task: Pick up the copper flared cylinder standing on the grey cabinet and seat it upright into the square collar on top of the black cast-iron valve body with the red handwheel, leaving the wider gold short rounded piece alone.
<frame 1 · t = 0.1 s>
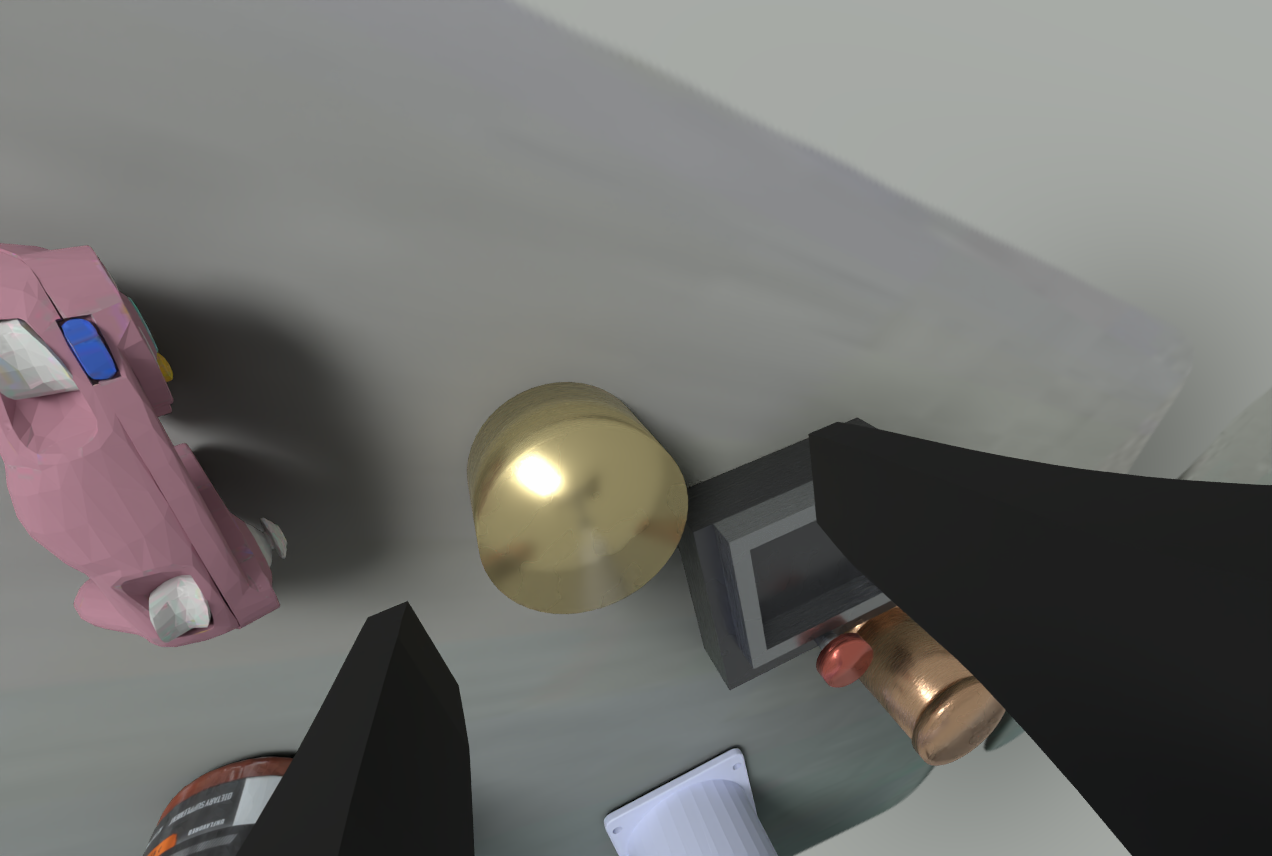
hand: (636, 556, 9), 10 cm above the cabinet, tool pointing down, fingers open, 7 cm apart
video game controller: (147, 418, 15), on the cabinet
copper flared cylinder: (873, 633, 31), on the cabinet
supplement bottle: (259, 798, 21), on the cabinet
gold short rounded piece: (559, 466, 20), on the cabinet
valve: (777, 538, 25), on the cabinet
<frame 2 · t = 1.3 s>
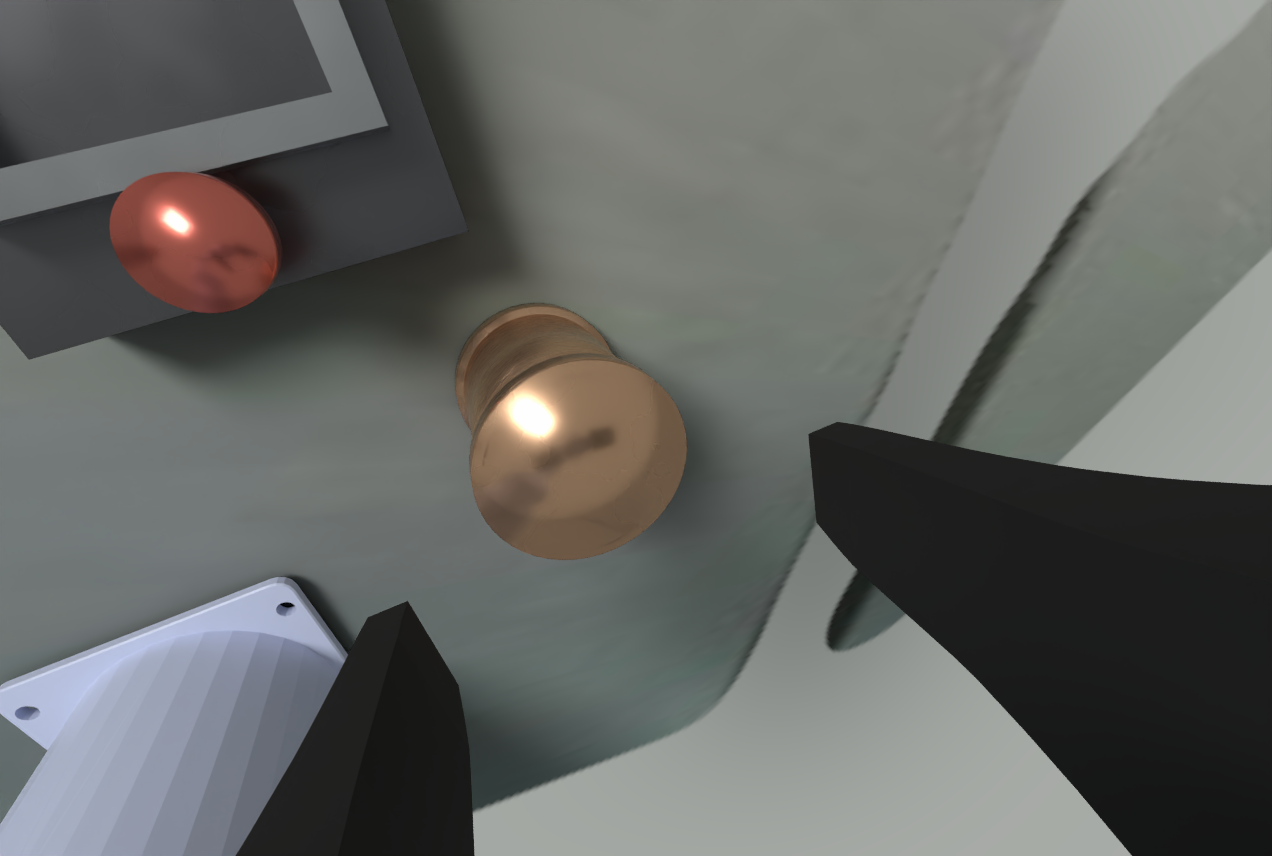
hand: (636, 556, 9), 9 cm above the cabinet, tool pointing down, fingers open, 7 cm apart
copper flared cylinder: (536, 381, 18), on the cabinet
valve: (178, 67, 12), on the cabinet
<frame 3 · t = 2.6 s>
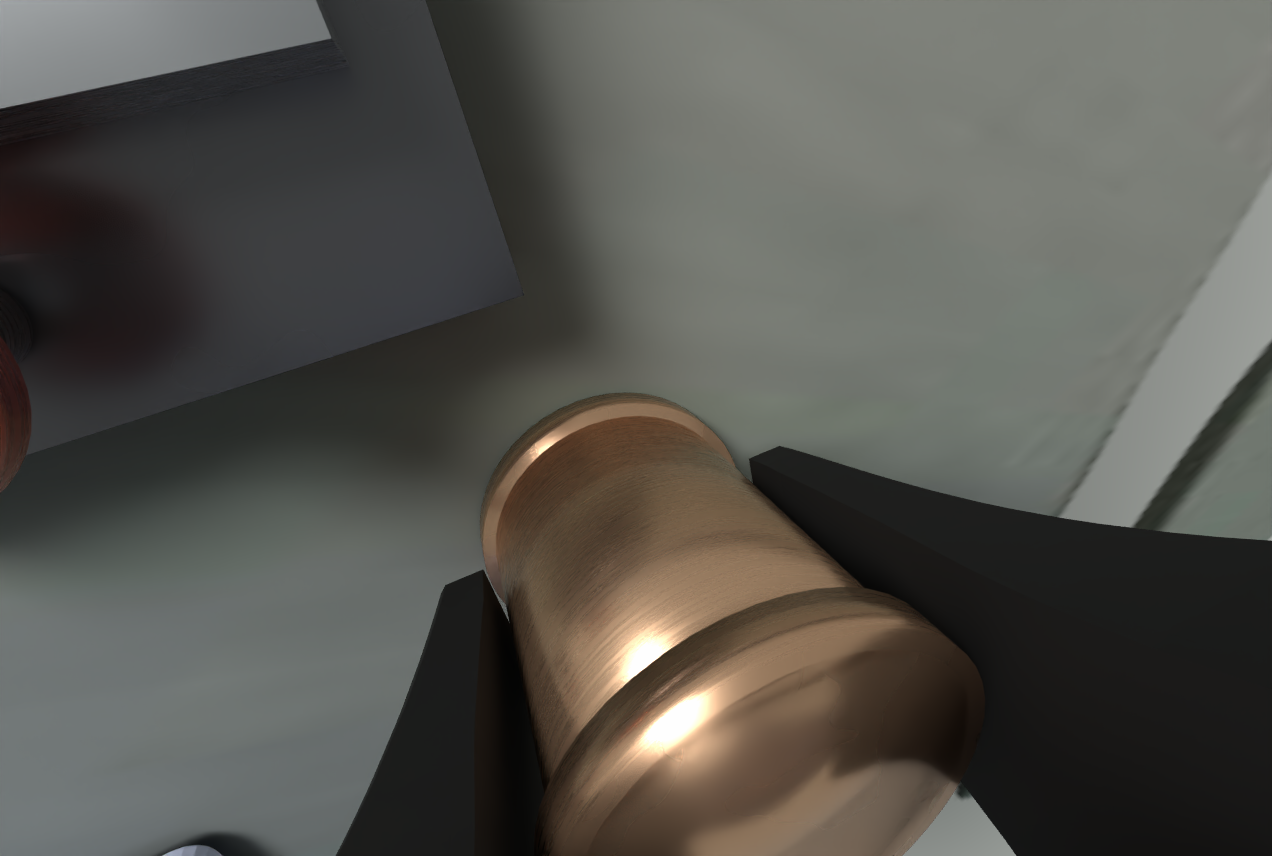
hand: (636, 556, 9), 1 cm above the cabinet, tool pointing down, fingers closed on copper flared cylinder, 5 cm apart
copper flared cylinder: (611, 512, 11), on the cabinet, touching gripper
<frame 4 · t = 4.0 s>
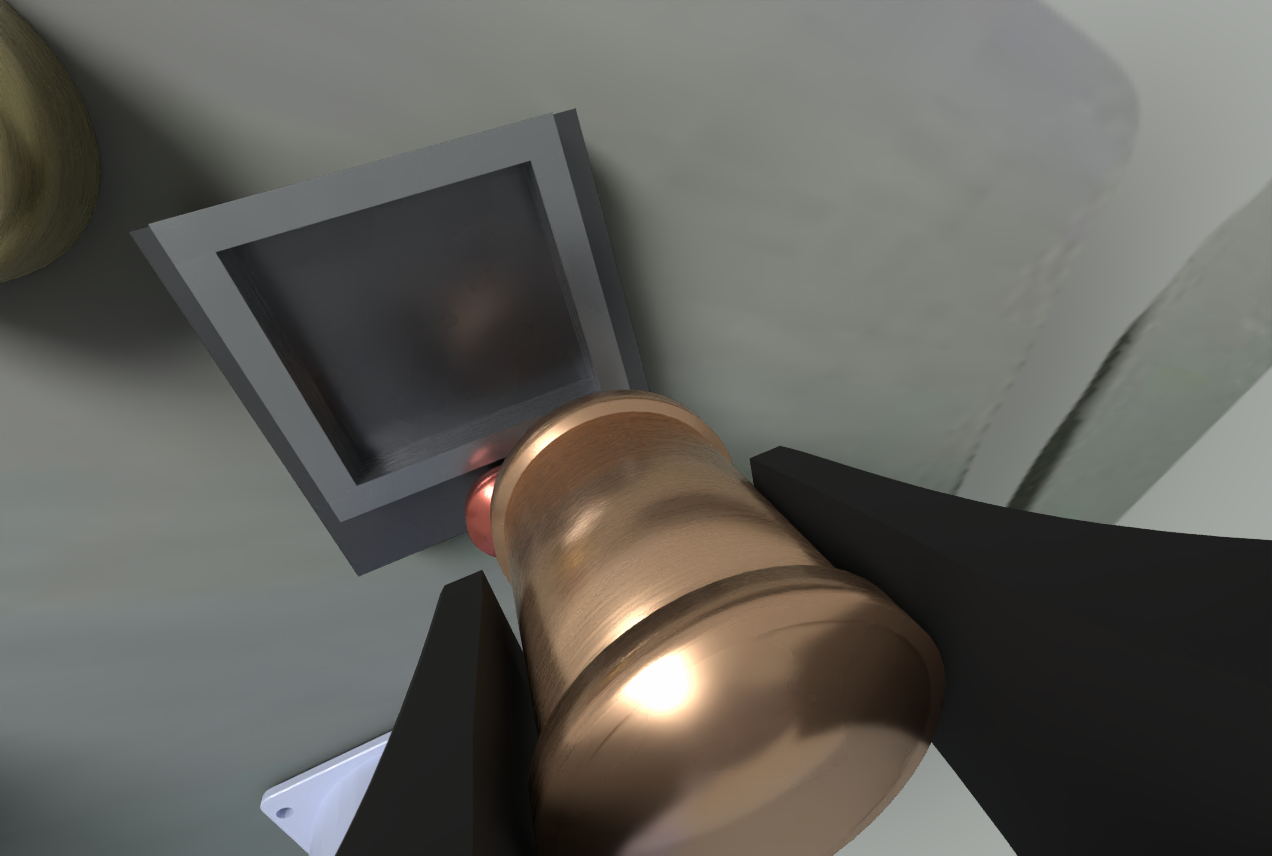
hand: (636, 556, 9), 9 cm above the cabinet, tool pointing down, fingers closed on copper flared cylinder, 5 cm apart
copper flared cylinder: (613, 503, 11), point 7 cm above the cabinet, touching gripper
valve: (451, 338, 16), on the cabinet
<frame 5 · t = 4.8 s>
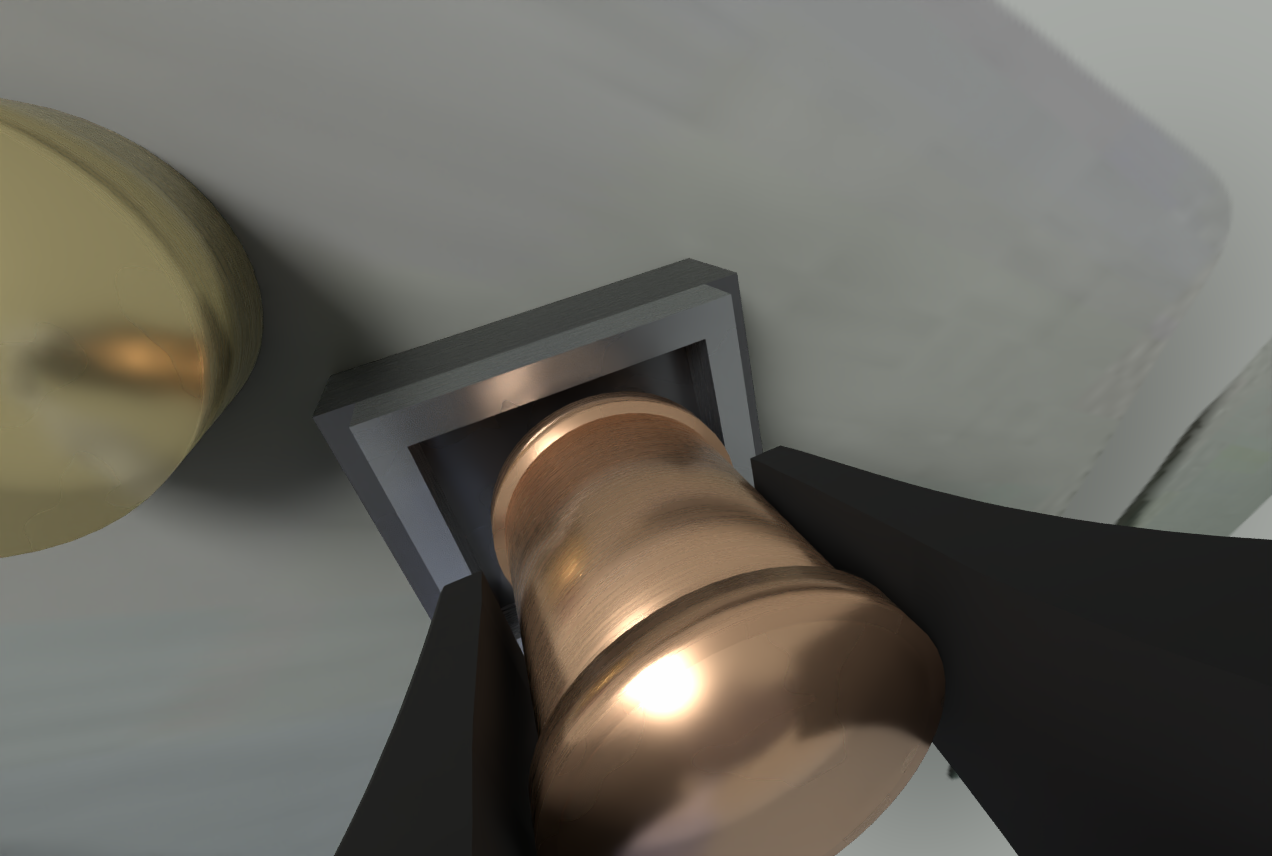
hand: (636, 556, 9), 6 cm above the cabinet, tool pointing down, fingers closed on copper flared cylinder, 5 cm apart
copper flared cylinder: (614, 504, 11), point 4 cm above the cabinet, touching gripper
gold short rounded piece: (64, 293, 11), on the cabinet
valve: (574, 465, 16), on the cabinet
when the fingers open (5 cm above the cabinet, at t = 5.5 s): copper flared cylinder stays where it is, resting on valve.
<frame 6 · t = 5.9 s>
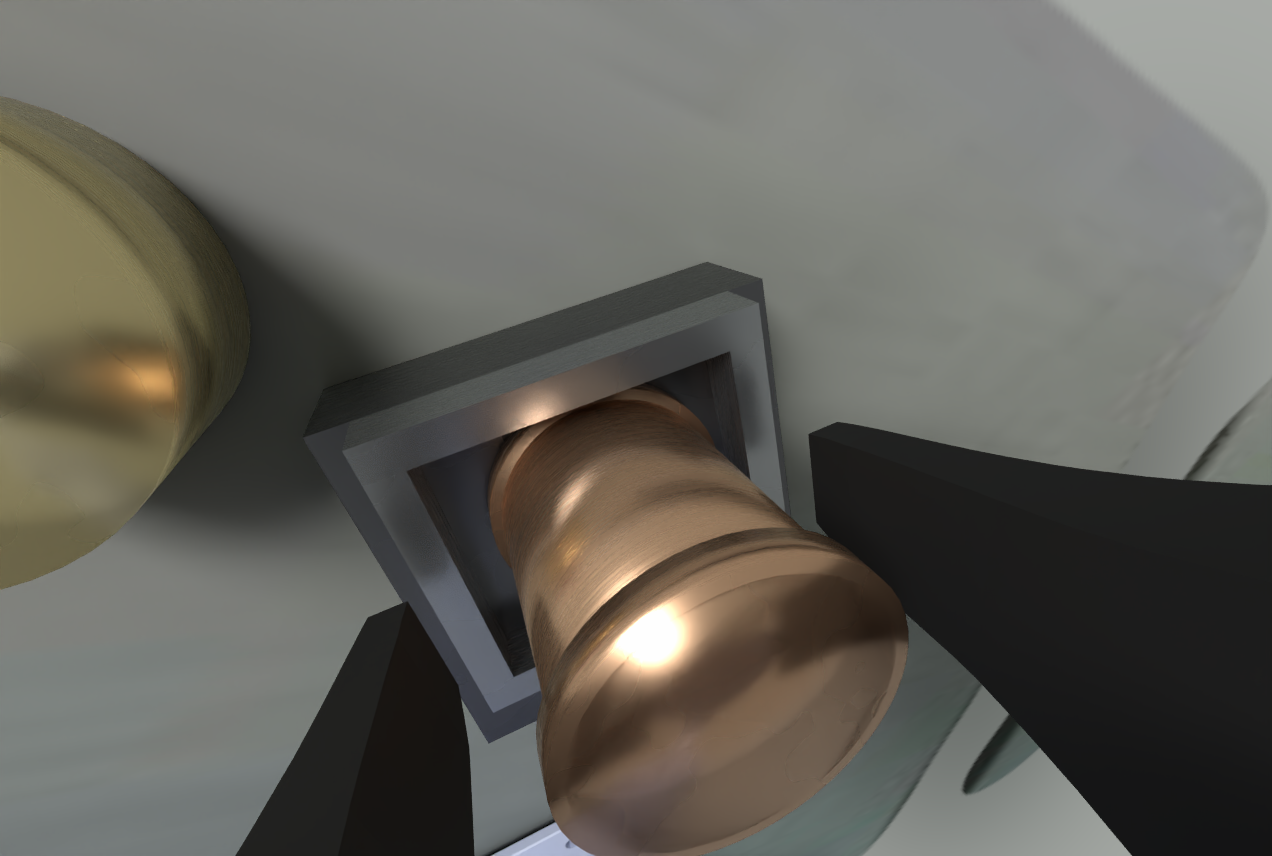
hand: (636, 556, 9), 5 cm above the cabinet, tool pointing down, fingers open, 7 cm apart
copper flared cylinder: (604, 487, 12), point 2 cm above the cabinet, touching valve
gold short rounded piece: (32, 302, 10), on the cabinet
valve: (583, 481, 15), on the cabinet
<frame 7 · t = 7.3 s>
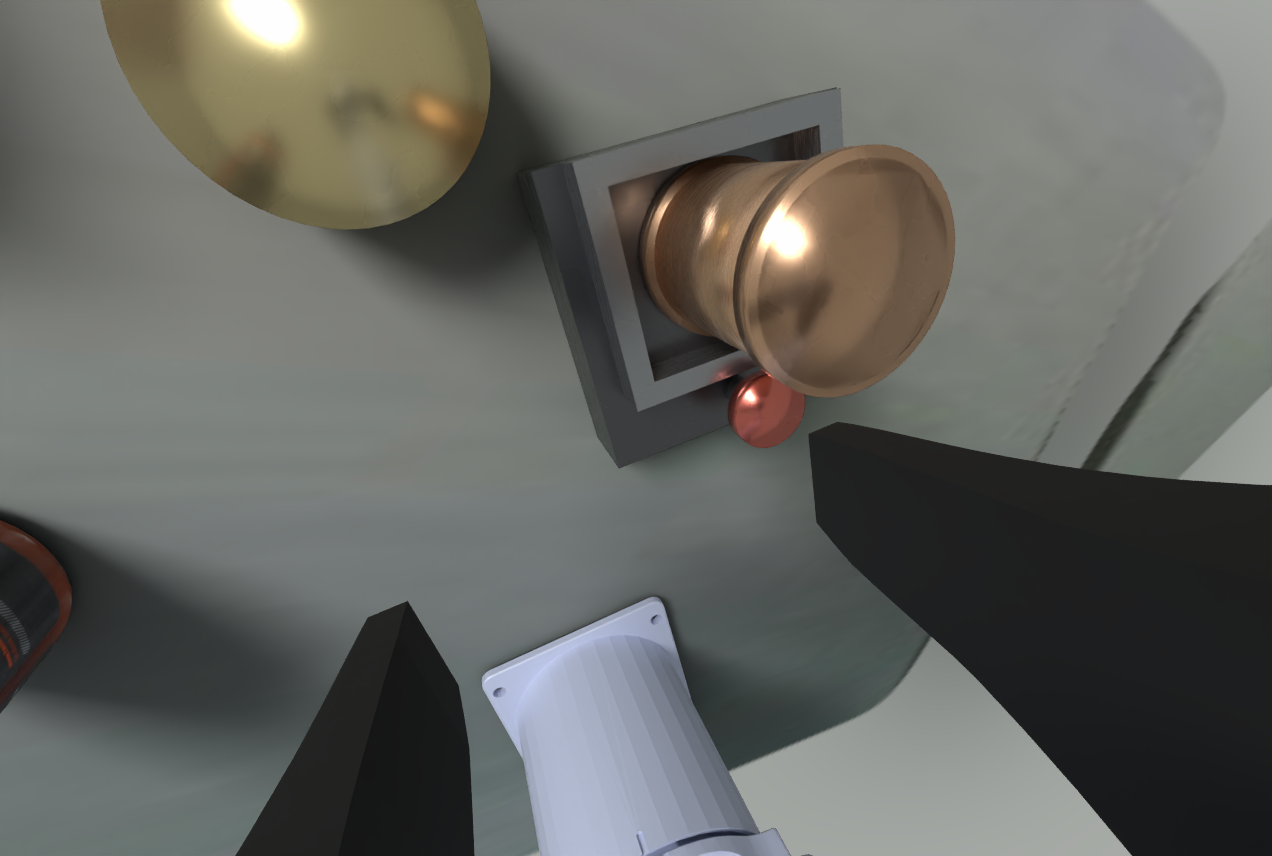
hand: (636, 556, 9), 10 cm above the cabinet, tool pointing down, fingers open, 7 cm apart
copper flared cylinder: (718, 249, 16), point 2 cm above the cabinet, touching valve
gold short rounded piece: (342, 82, 14), on the cabinet
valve: (685, 279, 19), on the cabinet
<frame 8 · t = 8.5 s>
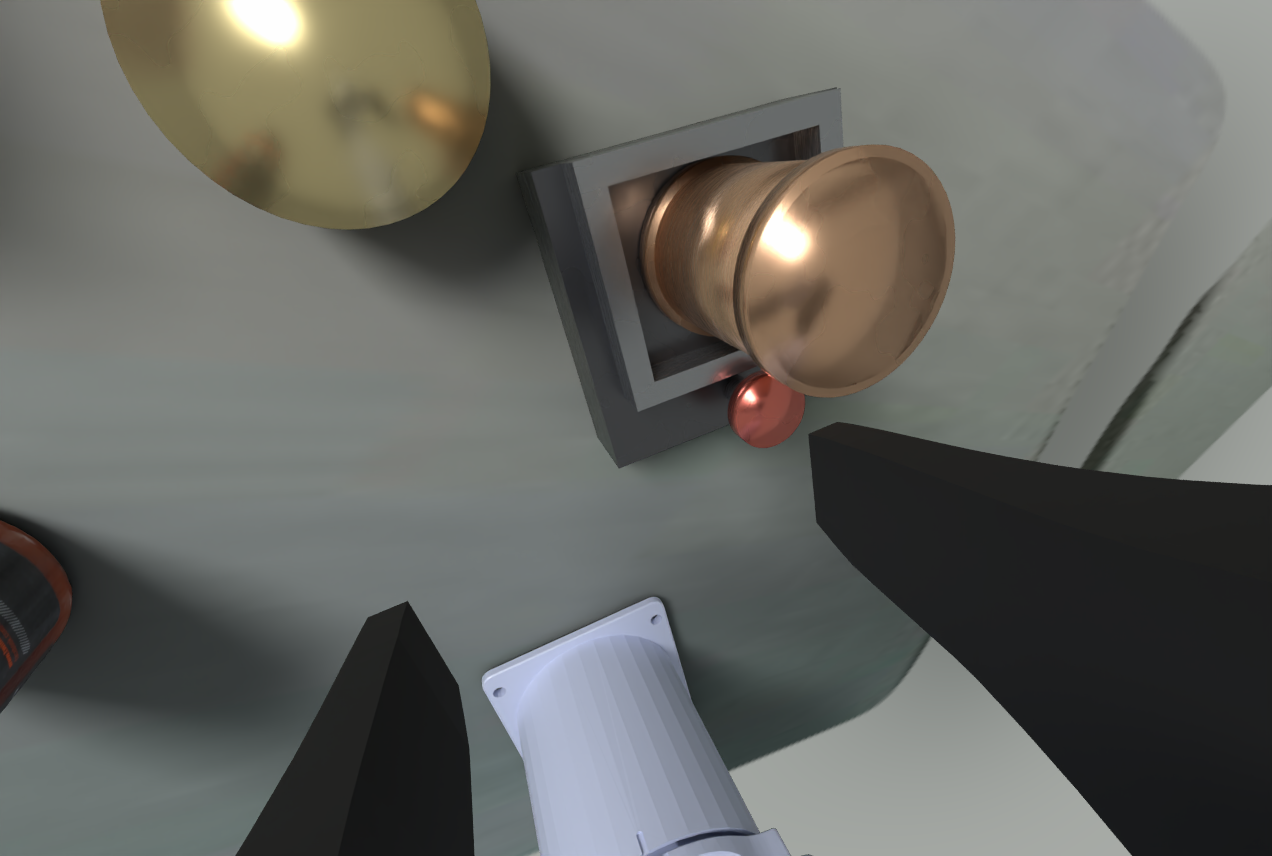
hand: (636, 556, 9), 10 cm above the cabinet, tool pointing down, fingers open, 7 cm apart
copper flared cylinder: (718, 249, 16), point 2 cm above the cabinet, touching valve
gold short rounded piece: (342, 82, 14), on the cabinet
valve: (685, 279, 19), on the cabinet
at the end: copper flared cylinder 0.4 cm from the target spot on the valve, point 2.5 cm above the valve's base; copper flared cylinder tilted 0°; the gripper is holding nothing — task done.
